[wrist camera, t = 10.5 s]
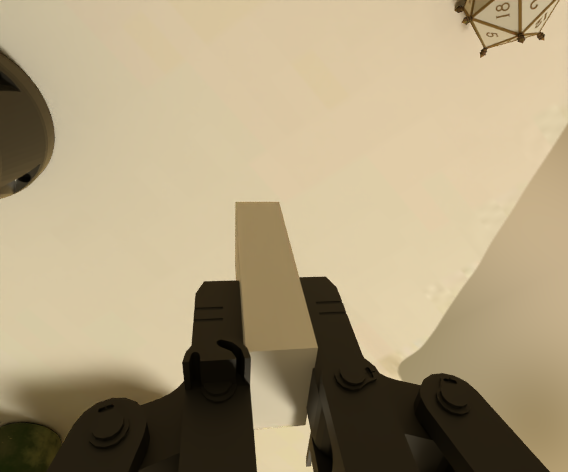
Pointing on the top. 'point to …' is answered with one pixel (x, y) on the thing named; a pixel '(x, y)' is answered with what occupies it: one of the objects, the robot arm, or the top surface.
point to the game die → (506, 19)
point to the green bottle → (27, 447)
